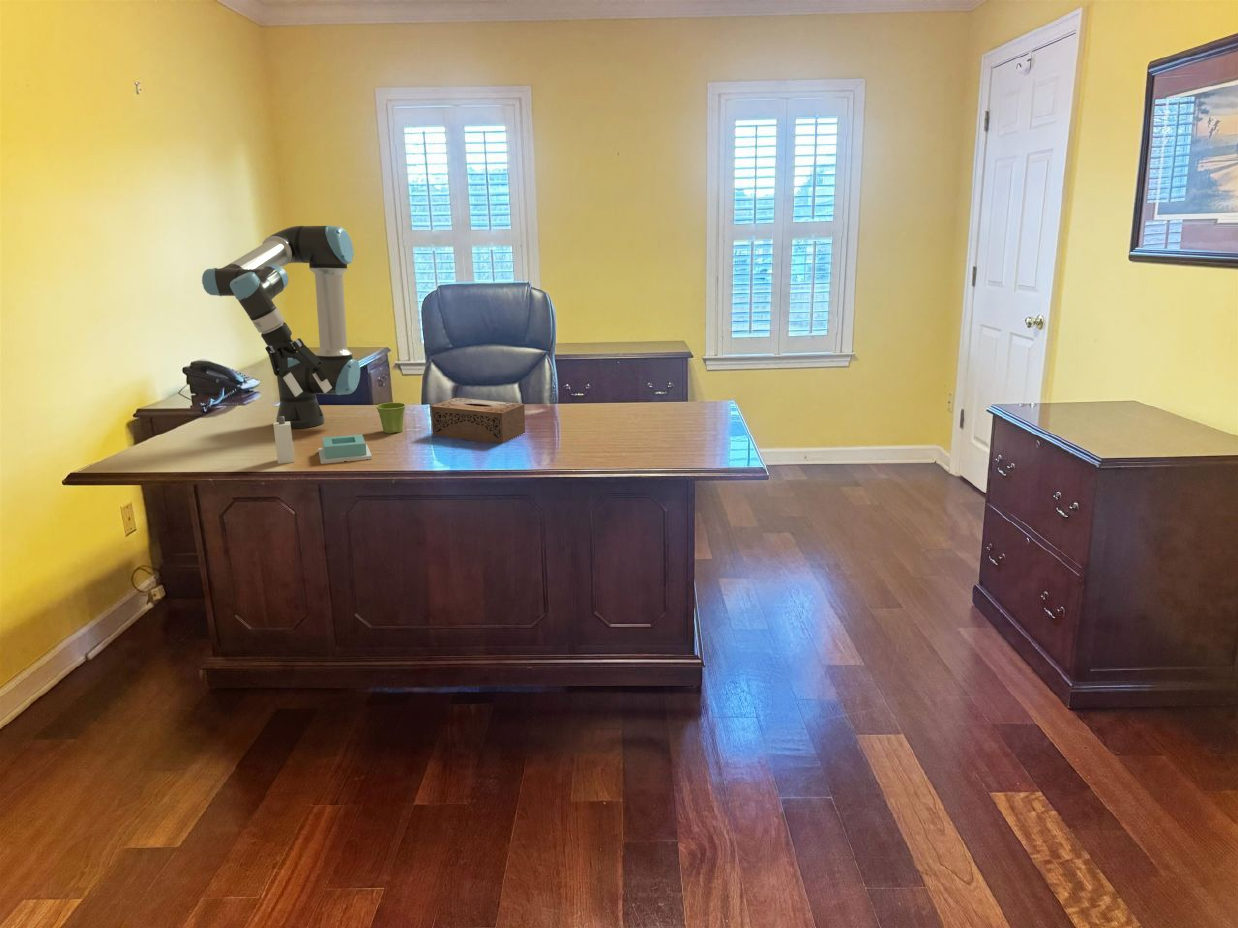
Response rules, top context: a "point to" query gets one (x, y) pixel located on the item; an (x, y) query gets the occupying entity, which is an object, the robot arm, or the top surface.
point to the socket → (344, 449)
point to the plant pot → (391, 416)
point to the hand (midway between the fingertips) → (313, 392)
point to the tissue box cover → (478, 420)
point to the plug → (283, 441)
